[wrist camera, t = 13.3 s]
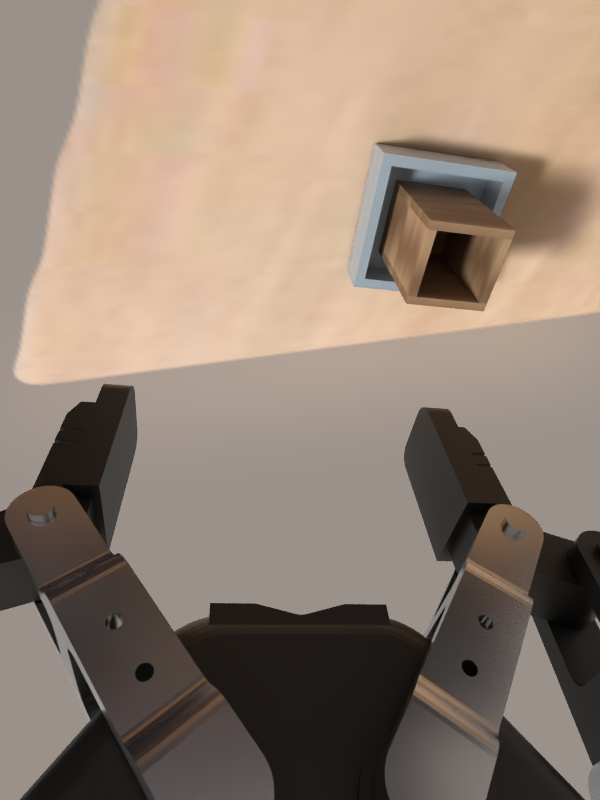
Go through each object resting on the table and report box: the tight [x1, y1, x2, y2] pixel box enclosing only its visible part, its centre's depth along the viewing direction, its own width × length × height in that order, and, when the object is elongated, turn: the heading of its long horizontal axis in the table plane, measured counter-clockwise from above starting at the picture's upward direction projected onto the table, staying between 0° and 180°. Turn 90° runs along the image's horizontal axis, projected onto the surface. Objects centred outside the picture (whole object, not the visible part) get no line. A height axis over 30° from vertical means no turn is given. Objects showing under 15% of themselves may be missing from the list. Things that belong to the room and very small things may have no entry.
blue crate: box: [348, 143, 517, 291], centre depth 42 cm, size 11×11×4 cm
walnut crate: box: [379, 180, 516, 311], centre depth 39 cm, size 6×6×10 cm
